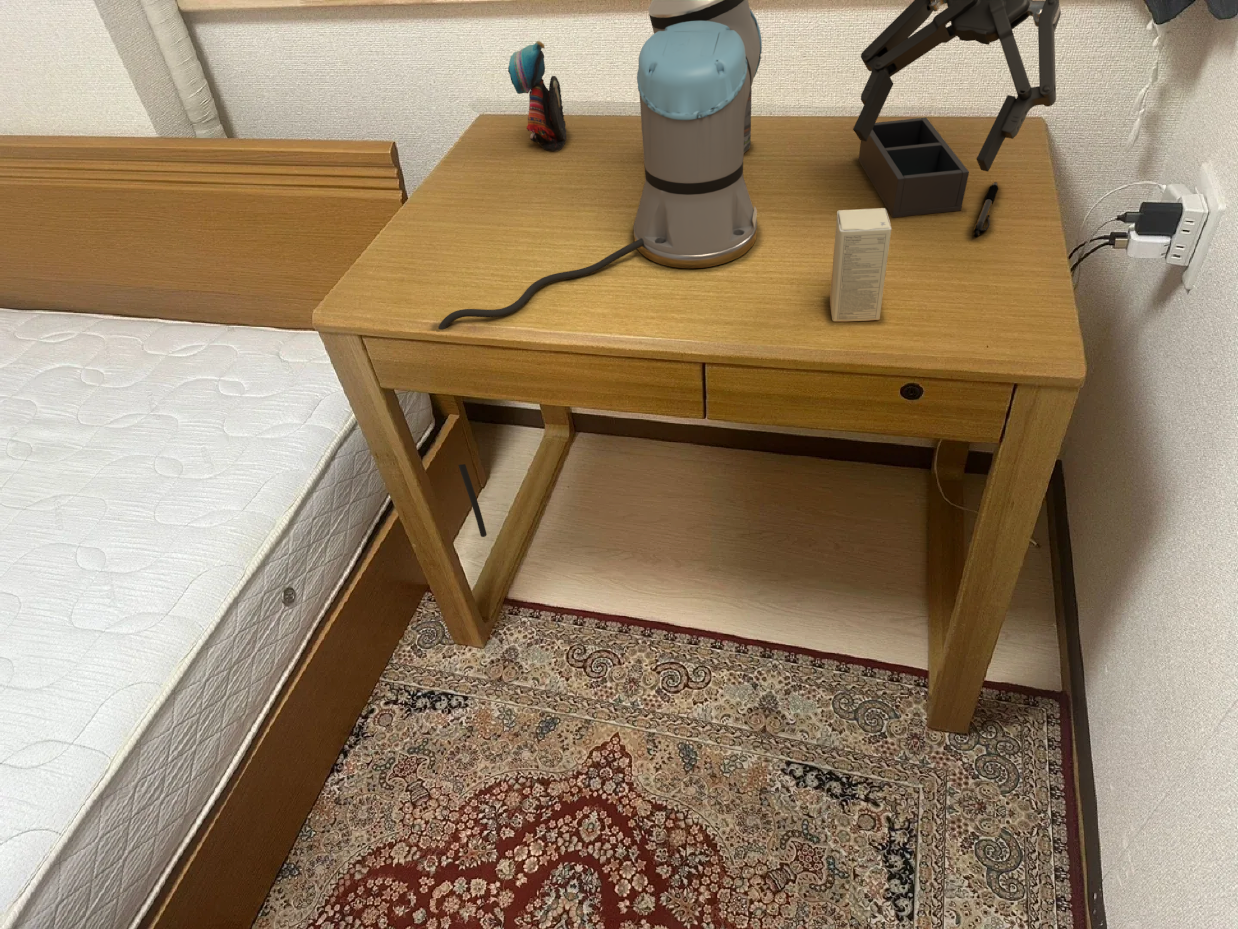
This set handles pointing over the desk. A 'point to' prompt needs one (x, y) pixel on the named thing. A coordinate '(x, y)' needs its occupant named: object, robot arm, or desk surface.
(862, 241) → the box
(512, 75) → the figurine
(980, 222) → the pen
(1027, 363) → the desk surface
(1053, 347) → the desk surface
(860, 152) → the holder
